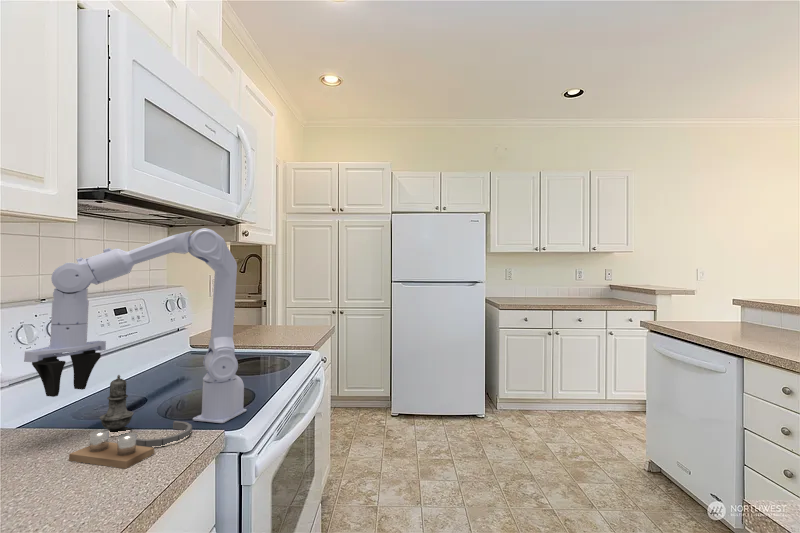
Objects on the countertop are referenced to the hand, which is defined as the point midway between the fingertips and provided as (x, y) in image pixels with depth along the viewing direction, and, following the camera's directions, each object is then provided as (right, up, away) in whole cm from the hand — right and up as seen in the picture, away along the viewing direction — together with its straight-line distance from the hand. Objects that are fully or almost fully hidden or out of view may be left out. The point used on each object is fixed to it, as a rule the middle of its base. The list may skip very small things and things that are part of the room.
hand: (66, 392), depth 81 cm
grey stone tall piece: (+7, -10, +4) cm, 13 cm away
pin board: (+15, -9, -8) cm, 19 cm away
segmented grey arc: (+20, -10, +1) cm, 22 cm away
